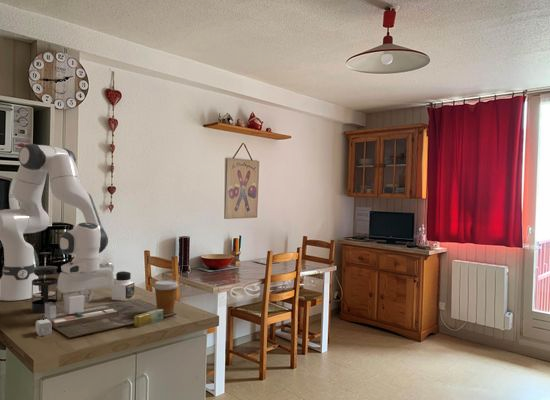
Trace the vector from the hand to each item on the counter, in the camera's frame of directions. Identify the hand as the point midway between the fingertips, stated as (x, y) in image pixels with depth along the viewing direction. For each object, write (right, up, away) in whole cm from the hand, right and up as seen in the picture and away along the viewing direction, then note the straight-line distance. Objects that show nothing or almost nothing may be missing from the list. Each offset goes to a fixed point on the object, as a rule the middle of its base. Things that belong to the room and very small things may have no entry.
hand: (86, 301), depth 159 cm
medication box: (+26, -7, -6) cm, 28 cm away
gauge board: (-1, -6, -3) cm, 6 cm away
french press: (-19, -5, +6) cm, 20 cm away
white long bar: (-2, -4, -2) cm, 5 cm away
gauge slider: (-2, -3, -5) cm, 6 cm away
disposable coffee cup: (+28, -7, +8) cm, 30 cm away
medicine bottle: (+4, -6, +26) cm, 27 cm away
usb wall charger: (-4, -6, -22) cm, 23 cm away
